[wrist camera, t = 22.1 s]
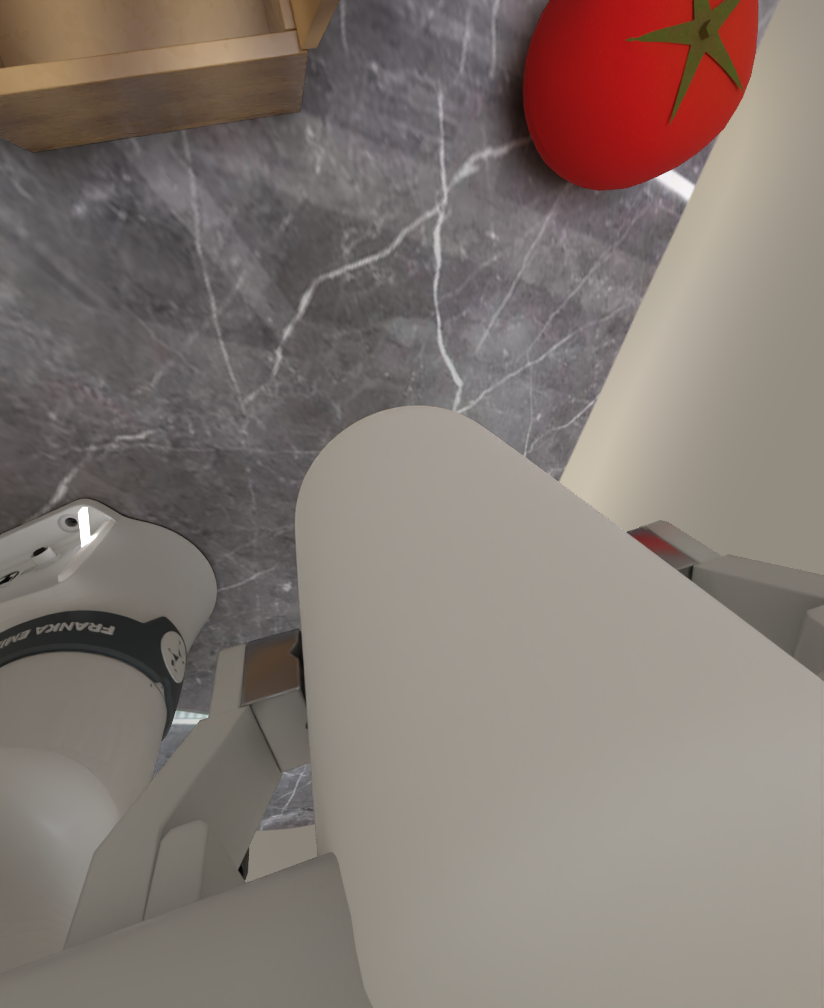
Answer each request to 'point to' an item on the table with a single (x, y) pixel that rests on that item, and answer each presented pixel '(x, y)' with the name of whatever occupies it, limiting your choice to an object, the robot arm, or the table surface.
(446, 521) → the can
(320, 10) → the lid
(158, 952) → the robot arm
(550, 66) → the tomato
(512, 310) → the table surface
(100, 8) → the box
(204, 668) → the table surface
